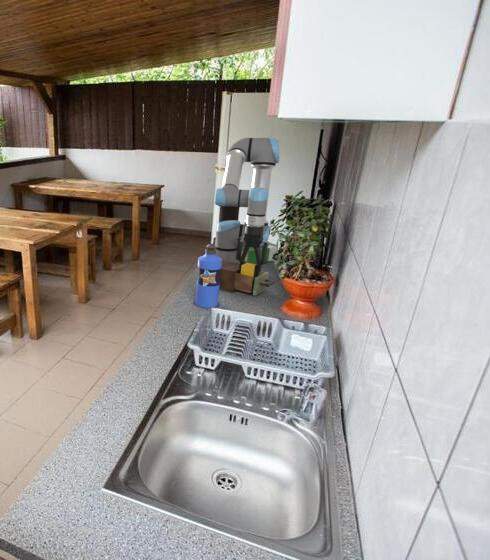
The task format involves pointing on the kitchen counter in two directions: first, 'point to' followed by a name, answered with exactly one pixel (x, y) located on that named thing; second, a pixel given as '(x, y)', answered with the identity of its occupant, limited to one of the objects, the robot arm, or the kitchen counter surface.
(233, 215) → the grey black cylinder
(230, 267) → the cabinet
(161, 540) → the kitchen counter surface
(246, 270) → the toy block
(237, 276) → the drawer
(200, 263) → the water bottle
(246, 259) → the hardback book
